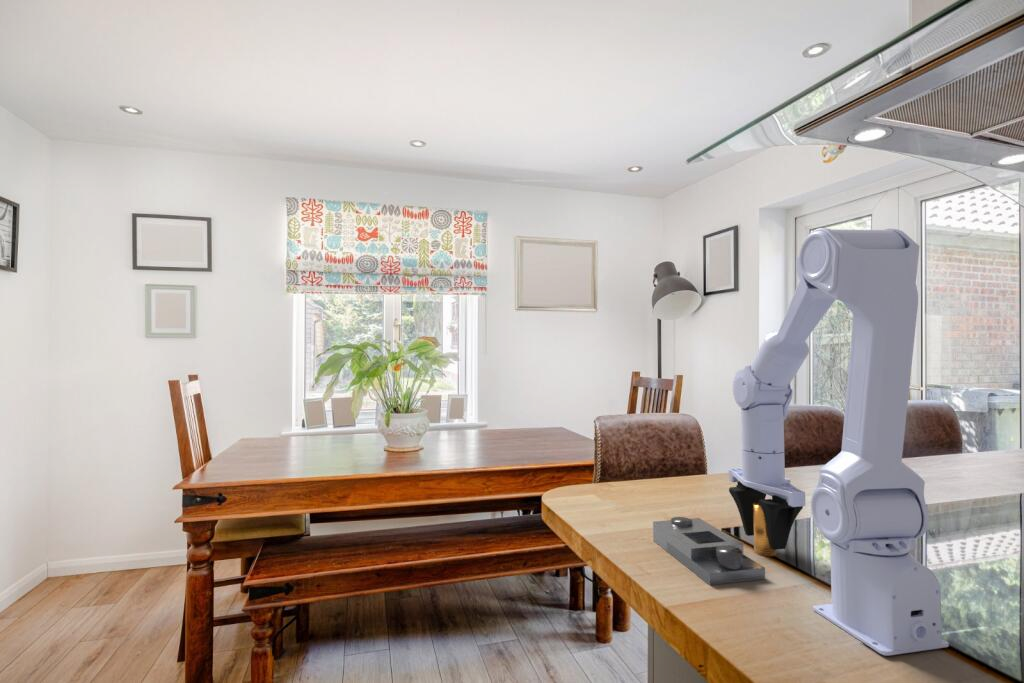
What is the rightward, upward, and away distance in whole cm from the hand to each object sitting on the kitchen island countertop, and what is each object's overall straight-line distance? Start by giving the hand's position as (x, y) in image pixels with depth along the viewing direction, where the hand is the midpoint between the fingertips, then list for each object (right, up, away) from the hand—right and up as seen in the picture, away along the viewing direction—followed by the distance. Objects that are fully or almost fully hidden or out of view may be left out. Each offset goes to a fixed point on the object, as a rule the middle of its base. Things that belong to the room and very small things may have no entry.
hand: (764, 541), depth 77 cm
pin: (0, -2, 0) cm, 2 cm away
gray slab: (-10, -2, -2) cm, 10 cm away
